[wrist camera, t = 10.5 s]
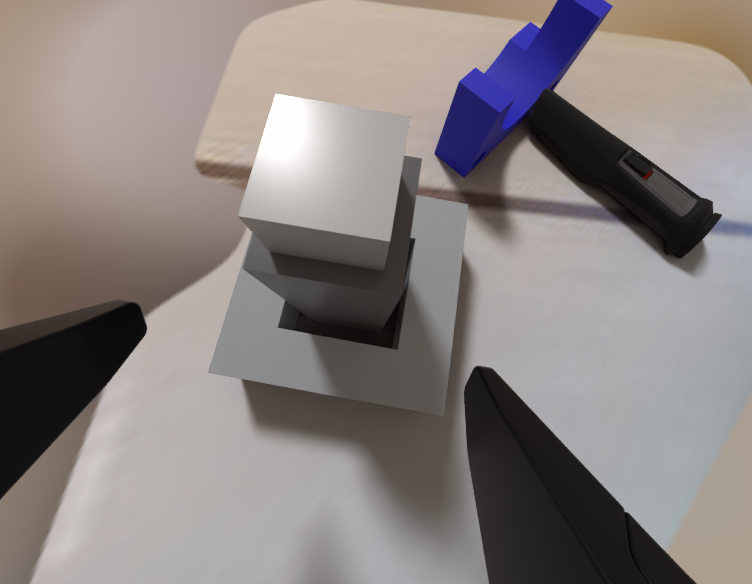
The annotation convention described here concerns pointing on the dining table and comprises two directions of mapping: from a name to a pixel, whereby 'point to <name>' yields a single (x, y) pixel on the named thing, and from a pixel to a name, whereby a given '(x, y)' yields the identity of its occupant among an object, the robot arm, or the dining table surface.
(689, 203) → the electric trimmer
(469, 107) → the cable clip
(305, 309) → the plug
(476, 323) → the dining table surface
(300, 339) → the socket
